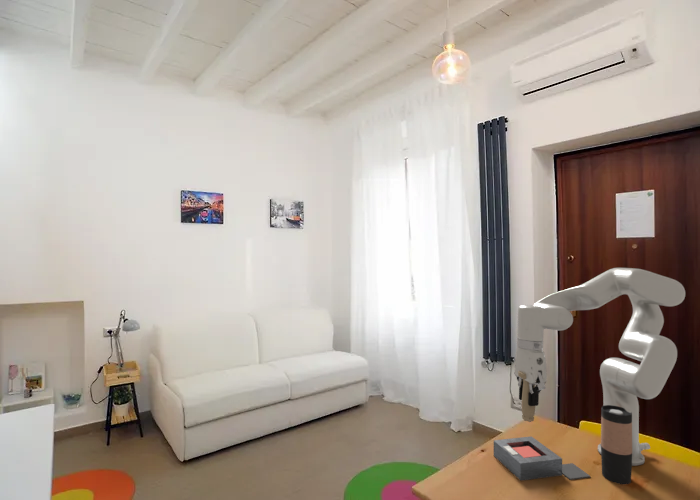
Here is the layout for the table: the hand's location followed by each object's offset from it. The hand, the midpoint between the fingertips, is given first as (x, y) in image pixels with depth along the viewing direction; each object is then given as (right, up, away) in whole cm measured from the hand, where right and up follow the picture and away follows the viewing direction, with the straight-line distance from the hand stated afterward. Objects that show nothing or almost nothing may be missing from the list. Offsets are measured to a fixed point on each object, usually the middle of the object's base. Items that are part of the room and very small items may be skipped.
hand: (528, 401), depth 122 cm
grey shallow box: (-1, -19, -1) cm, 20 cm away
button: (-1, -16, -1) cm, 17 cm away
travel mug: (+23, -20, -7) cm, 31 cm away
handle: (0, -6, 0) cm, 6 cm away
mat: (+11, -19, -5) cm, 23 cm away
